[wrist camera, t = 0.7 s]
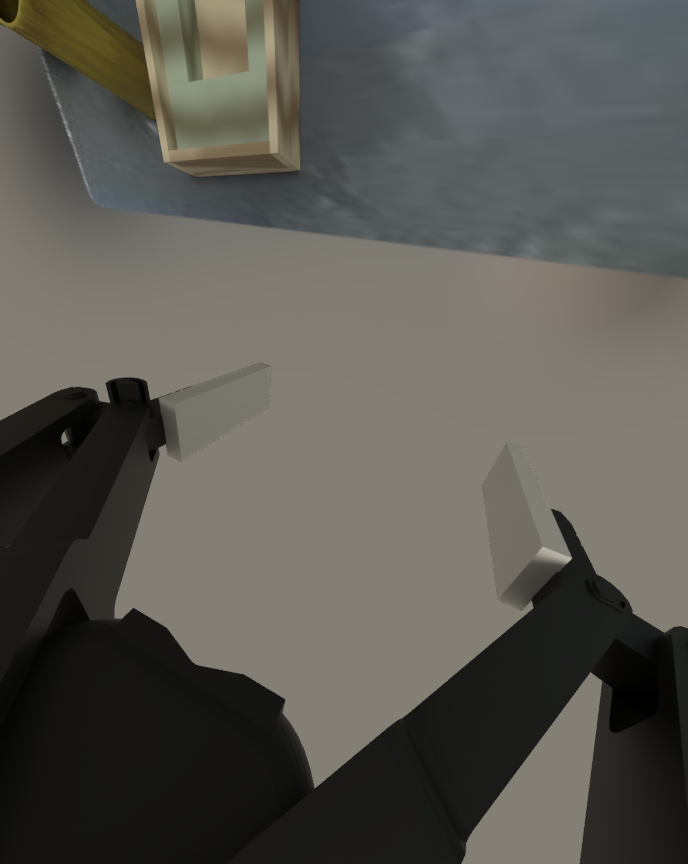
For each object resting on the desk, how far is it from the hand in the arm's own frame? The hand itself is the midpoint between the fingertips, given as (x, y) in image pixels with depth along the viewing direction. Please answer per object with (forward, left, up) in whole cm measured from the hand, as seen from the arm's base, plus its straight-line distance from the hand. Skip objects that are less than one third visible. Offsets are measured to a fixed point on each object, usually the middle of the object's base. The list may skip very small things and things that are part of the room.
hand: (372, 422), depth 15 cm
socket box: (-30, -26, -26) cm, 48 cm away
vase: (-28, -39, -26) cm, 55 cm away
